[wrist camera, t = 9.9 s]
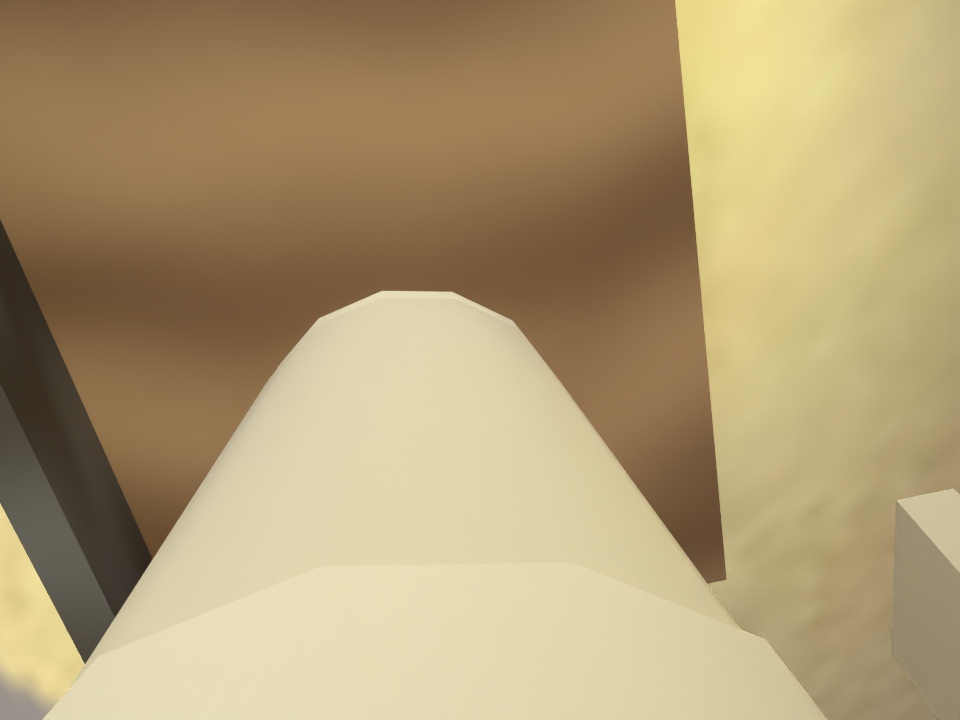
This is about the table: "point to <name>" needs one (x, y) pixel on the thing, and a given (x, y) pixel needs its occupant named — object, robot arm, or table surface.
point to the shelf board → (325, 238)
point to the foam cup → (423, 554)
